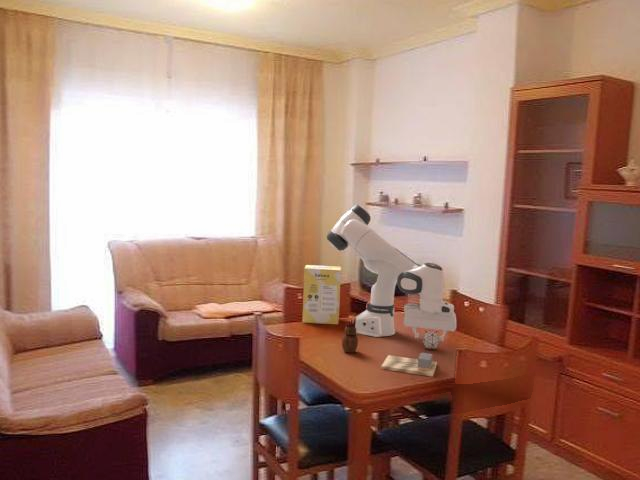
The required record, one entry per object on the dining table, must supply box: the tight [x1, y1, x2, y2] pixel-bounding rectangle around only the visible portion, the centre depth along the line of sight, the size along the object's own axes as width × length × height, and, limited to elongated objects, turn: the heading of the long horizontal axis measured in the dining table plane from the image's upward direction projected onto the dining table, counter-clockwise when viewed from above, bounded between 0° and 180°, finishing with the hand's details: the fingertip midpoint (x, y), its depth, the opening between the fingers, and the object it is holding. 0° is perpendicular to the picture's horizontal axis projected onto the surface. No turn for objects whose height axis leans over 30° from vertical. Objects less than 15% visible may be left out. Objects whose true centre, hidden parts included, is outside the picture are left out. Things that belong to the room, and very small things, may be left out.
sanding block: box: [418, 352, 433, 370], centre depth 211 cm, size 4×8×4 cm, turn 162°
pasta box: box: [302, 264, 342, 325], centre depth 275 cm, size 18×10×28 cm, turn 86°
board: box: [380, 354, 438, 378], centre depth 213 cm, size 20×14×1 cm
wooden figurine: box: [341, 317, 359, 354], centre depth 228 cm, size 7×6×15 cm
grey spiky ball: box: [420, 330, 441, 351], centre depth 237 cm, size 9×8×10 cm
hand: (428, 339), depth 210 cm, fingers open, 8 cm apart
